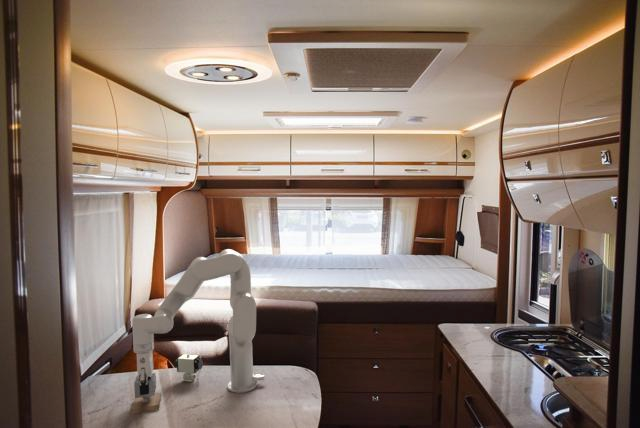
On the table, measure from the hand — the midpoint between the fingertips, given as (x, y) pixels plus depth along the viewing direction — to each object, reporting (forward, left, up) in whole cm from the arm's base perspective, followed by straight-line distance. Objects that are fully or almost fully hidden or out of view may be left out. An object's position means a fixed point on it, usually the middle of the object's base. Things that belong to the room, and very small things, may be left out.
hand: (145, 389), depth 162 cm
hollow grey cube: (0, 0, -1) cm, 1 cm away
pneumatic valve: (-16, -17, -7) cm, 24 cm away
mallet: (0, -9, -6) cm, 11 cm away
